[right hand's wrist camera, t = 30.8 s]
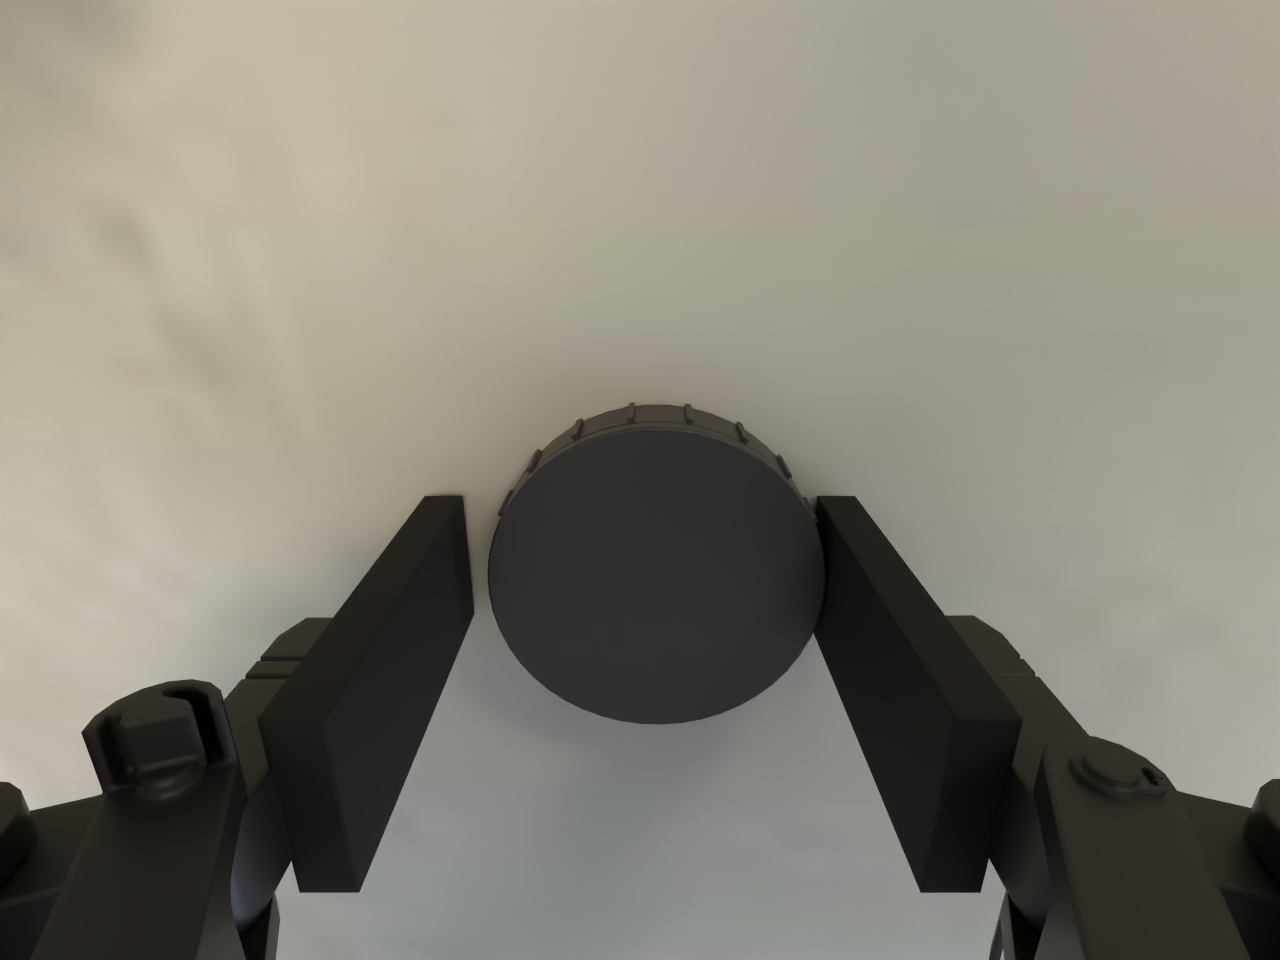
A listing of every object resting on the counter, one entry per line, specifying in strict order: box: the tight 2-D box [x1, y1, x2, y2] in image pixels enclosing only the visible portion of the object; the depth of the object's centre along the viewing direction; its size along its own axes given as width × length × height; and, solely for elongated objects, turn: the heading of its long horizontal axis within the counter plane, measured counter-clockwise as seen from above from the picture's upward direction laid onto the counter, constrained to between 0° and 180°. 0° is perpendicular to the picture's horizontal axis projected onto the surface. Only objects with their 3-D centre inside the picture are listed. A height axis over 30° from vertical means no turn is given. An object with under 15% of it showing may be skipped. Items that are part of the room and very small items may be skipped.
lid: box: [488, 403, 826, 724], centre depth 14 cm, size 6×6×2 cm
